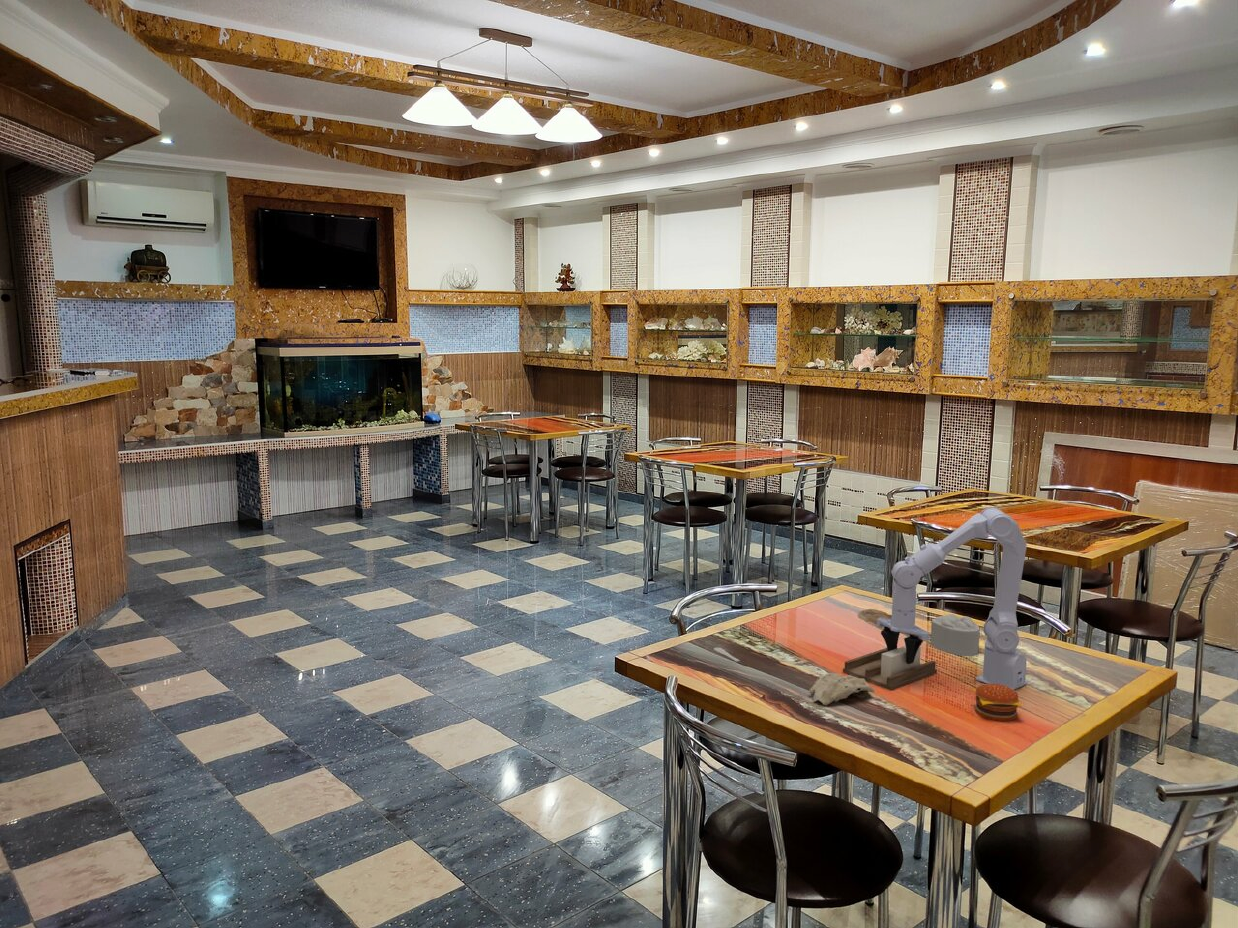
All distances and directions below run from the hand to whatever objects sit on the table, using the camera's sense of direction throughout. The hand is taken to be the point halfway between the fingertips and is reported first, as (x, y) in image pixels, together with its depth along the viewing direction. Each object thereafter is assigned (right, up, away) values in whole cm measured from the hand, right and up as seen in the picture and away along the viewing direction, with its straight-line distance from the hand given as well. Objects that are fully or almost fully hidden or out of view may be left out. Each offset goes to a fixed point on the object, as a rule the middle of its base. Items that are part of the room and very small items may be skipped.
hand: (901, 660), depth 228 cm
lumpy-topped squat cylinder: (+22, -2, +21) cm, 31 cm away
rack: (-2, -4, +3) cm, 5 cm away
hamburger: (+15, -8, -21) cm, 27 cm away
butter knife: (-40, -3, +11) cm, 41 cm away
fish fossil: (+9, +1, +42) cm, 43 cm away
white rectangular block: (0, -3, 0) cm, 3 cm away
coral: (-19, -7, -11) cm, 23 cm away
